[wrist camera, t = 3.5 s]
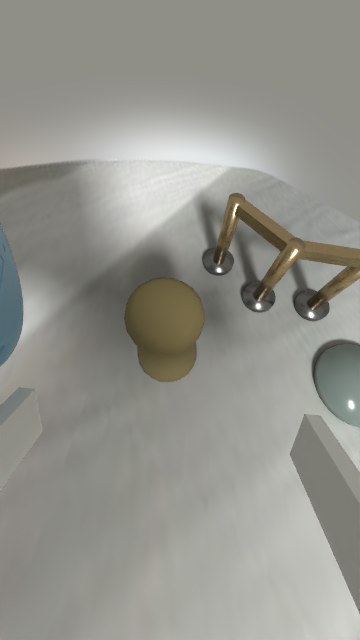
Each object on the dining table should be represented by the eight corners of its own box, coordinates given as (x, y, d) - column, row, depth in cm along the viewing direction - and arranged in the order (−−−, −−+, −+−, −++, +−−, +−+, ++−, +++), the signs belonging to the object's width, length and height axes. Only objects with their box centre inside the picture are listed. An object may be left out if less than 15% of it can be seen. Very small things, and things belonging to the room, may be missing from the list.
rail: (196, 302, 26) (208, 249, 18) (205, 248, 29) (218, 181, 21) (327, 323, 26) (401, 279, 17) (322, 266, 29) (384, 205, 20)
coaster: (316, 419, 22) (320, 419, 21) (311, 339, 25) (315, 337, 24) (402, 434, 22) (409, 435, 21) (387, 352, 25) (392, 350, 24)
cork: (129, 337, 24) (98, 282, 14) (181, 316, 25) (188, 250, 15) (151, 392, 22) (133, 373, 12) (206, 366, 23) (233, 328, 13)
